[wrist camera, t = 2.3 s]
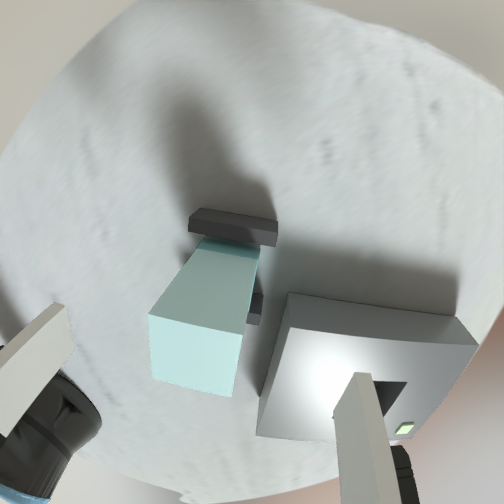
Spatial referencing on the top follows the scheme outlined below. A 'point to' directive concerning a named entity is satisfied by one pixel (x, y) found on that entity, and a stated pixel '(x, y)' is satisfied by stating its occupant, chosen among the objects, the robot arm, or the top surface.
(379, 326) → the port block
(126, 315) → the top surface
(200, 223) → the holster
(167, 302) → the plug
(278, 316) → the top surface
